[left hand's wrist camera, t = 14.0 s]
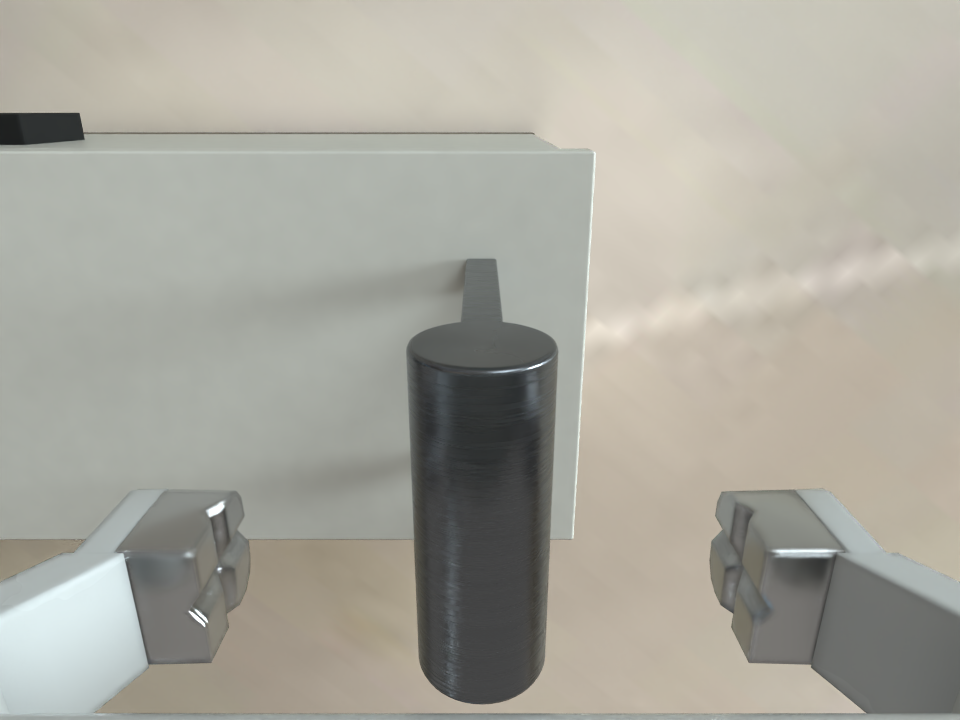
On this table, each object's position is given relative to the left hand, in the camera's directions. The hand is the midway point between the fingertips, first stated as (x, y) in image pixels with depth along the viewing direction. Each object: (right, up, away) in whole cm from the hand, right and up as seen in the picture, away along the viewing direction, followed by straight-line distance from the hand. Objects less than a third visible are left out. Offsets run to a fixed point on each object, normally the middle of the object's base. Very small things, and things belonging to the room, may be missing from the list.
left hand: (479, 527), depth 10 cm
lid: (-6, +3, +7) cm, 10 cm away
